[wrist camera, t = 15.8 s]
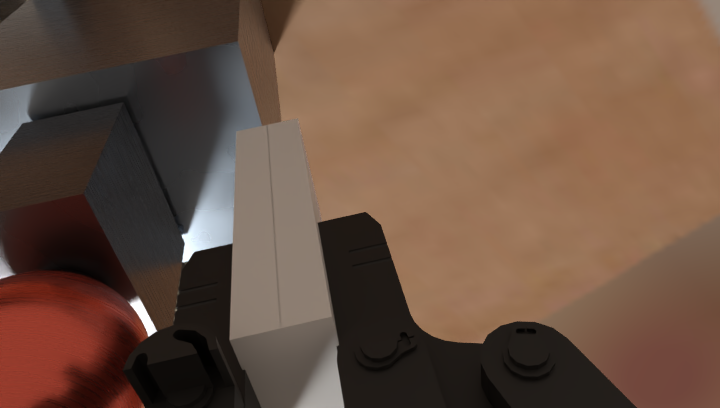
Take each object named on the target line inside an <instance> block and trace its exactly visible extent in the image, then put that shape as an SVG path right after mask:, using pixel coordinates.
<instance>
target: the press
mask: <svg viewBox="0 0 720 408" xmlns="http://www.w3.org/2000/svg"><path fill="white" fill-rule="evenodd" d="M122 102H124V104H125V106H126V109H127V111H128V113H129V115H130V118H131V120H132V122H133V125H134V127H135V129H136V132H137V134H138V136H139V138H140V141H141V143H142V145H143V148H144V150H145V152H146V155H147V157H148V159H149V161H150V164H151V166H152V168H153V171H154V173H155V175H156V178H157V180H158V182H159V184H160V187H161V189H162V191H163V194H164V196H165V198H166V201H167V203H168V205H169V207H170V210H171V212H172V214H173V217H174V219H175V221H176V224H177V226H178V228H179V230H180V233H181V235H182V237H183V240H184V242H185V246H184V253H183V260H182V262H186V261H188V260H189V259H190V257H191V256H192V254H193V253H194V252H196V251H200V250H205V249H209V248H214V247H218V246H223V245H227V244H232V243H233V219H234V189H235V158H236V131H241V130H245V129H250V128H255V127H260V126H264V125H269V124H274V123H278V122H281V114H280V104H279V95H278V86H277V77H276V68H275V58H274V52H273V48H272V44H271V40H270V36H269V32H268V28H267V24H266V20H265V16H264V12H263V8H262V4H261V0H0V153H1V151H2V150H3V149H4V147H5V146H6V145H7V143H8V142H9V141H10V139H11V138H12V136H13V135H14V134H15V132H16V131H17V130H18V128H19V127H20V126H21V124H22V123H26V122H31V121H36V120H40V119H45V118H50V117H55V116H60V115H64V114H69V113H74V112H79V111H83V110H88V109H93V108H98V107H103V106H107V105H112V104H117V103H122Z"/></svg>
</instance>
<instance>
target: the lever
mask: <svg viewBox="0 0 720 408" xmlns="http://www.w3.org/2000/svg"><path fill="white" fill-rule="evenodd" d="M184 246H185V242H184V240H183V237H182V235H181V233H180V230H179V228H178V226H177V224H176V221H175V219H174V217H173V214H172V212H171V210H170V207H169V205H168V203H167V201H166V198H165V196H164V194H163V191H162V189H161V187H160V184H159V182H158V180H157V178H156V175H155V173H154V171H153V168H152V166H151V164H150V161H149V159H148V157H147V155H146V152H145V150H144V148H143V145H142V143H141V141H140V138H139V136H138V134H137V132H136V129H135V127H134V125H133V122H132V120H131V118H130V115H129V113H128V111H127V109H126V106H125V104H124V102H122V103H117V104H112V105H107V106H103V107H98V108H93V109H88V110H83V111H79V112H74V113H69V114H64V115H60V116H55V117H50V118H45V119H40V120H36V121H31V122H26V123H22V124H21V126H20V127H19V128H18V130H17V131H16V132H15V134H14V135H13V136H12V138H11V139H10V141H9V142H8V143H7V145H6V146H5V147H4V149H3V150H2V151H1V153H0V408H144V405H143V403H142V401H141V400H140V398H139V397H138V395H137V393H136V392H135V390H134V389H133V387H132V385H131V384H130V382H129V381H128V379H127V377H126V376H125V374H124V373H123V371H122V370H123V368H124V366H125V364H126V361H127V359H128V357H129V355H130V354H131V353H132V352H133V351H134V349H135V348H136V347H137V346H138V345H139V344H140V343H141V342H142V341H143V340H145V339H146V338H148V337H149V336H151V335H152V334H154V333H155V332H157V331H158V330H161V329H164V328H166V327H169V326H172V325H173V320H174V313H175V307H176V300H177V293H178V287H179V280H180V273H181V267H182V260H183V253H184Z"/></svg>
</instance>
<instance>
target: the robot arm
mask: <svg viewBox="0 0 720 408" xmlns="http://www.w3.org/2000/svg"><path fill="white" fill-rule="evenodd" d="M176 308H177V311H176V312H175V319H174V325H172V326H169V327H166V328H164V329H161V330H158V331H157V332H155V333H154V334H152V335H151V336H149V337H148V338H146V339H145V340H143V341H142V342H141V343H140V344H139V345H138V346H137V347H136V348H135V349H134V351H133V352H132V353H131V354H130V355H129V357H128V359H127V361H126V364H125V366H124V368H123V370H122V371H123V373H124V374H125V376H126V377H127V379H128V381H129V382H130V384H131V385H132V387H133V389H134V390H135V392H136V393H137V395H138V397H139V398H140V400H141V401H142V403H143V405H144V406H145V408H637V407H636V406H635V405H634V404H632V403H631V402H630V400H628V399H627V397H625V395H623V393H622V392H621V391H620V390H619V389H618V388H616V387H615V386H614V385H613V384H612V383H611V381H610V380H608V379H607V378H606V377H605V376H604V375H603V374H602V373H601V371H600V370H599V369H597V368H596V366H595V365H594V364H593V363H592V362H590V361H589V359H588V358H587V357H586V356H584V354H583V353H581V351H580V350H579V349H577V347H576V346H574V345H573V344H572V342H570V341H569V340H568V339H567V338H566V337H565V336H563V335H562V334H561V333H559V332H558V331H556V330H555V329H554V328H551V327H548V326H545V325H542V324H539V323H536V322H518V321H517V322H513V323H509V324H506V325H502V326H500V327H498V328H497V329H496V330H494V331H493V332H491V333H490V334H489V335H488V336H487V337H486V339H485V341H484V343H483V344H480V343H458V342H451V341H444V340H441V339H438V338H436V337H433V336H431V335H429V334H428V333H426V332H425V331H423V330H422V329H421V328H420V327H419V326H418V325H417V324H416V323H415V322H414V320H413V318H412V316H411V314H410V312H409V309H408V306H407V303H406V300H405V297H404V294H403V291H402V288H401V285H400V282H399V279H398V275H397V272H396V269H395V266H394V263H393V260H392V258H391V254H390V251H389V248H388V246H387V242H386V239H385V236H384V233H383V230H382V227H381V225H380V224H379V223H378V222H377V221H376V220H375V219H373V218H372V217H371V216H370V215H369V214H368V213H366V212H364V213H359V214H355V215H350V216H346V217H341V218H337V219H332V220H328V221H323V222H322V220H321V215H320V209H319V205H318V201H317V197H316V192H315V188H314V184H313V180H312V176H311V172H310V167H309V163H308V159H307V155H306V151H305V146H304V142H303V138H302V134H301V130H300V125H299V121H298V118H297V119H293V120H288V121H283V122H278V123H274V124H269V125H264V126H260V127H255V128H250V129H245V130H241V131H236V158H235V189H234V219H233V243H232V244H227V245H223V246H218V247H214V248H209V249H205V250H200V251H196V252H194V253H193V254H192V256H191V257H190V259H189V260H188V262H187V264H186V265H185V267H184V268H183V270H182V271H181V278H180V285H179V295H178V299H177V305H176Z"/></svg>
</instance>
